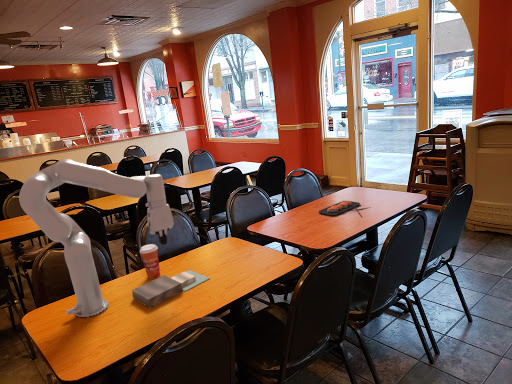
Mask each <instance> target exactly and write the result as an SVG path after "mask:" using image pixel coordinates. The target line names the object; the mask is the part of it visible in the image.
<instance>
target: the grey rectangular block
mask: <svg viewBox="0 0 512 384" xmlns="http://www.w3.org/2000/svg"><path fill="white" fill-rule="evenodd" d="M182 291H183V289H182V284H181V283H180V282H178V281H176V280H174V279H171V277H169V276H167V275H162V276H161V275H160V276H159V277H157V278H154V279H152V280H150V281H148V282H146V283H144V284H142V285H140V286H137V287H135V288H133V289H131V292H132V293H131V294H132V297H133V299H134V298H135V299H136V300H135V299H134V300H135V301H137V300H138V301H137V302H139V301H140V302H141V304H142V303H143V304H142V305H144V304H145V305H146V306H145V305H144V306H145V307H147V306H148V307H147V308H149V307H152V308H154V307H156V306H158V305H159V303H160V304H162V303H163V301H164V302H165V301H167V300H169V299H171V298H173V297H175V296H177V295H179V294H181V293H182ZM180 292H181V293H180ZM183 292H184V291H183ZM140 302H139V303H140ZM161 302H162V303H161ZM157 304H158V305H157ZM155 305H156V306H155ZM153 306H154V307H153Z"/></svg>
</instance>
